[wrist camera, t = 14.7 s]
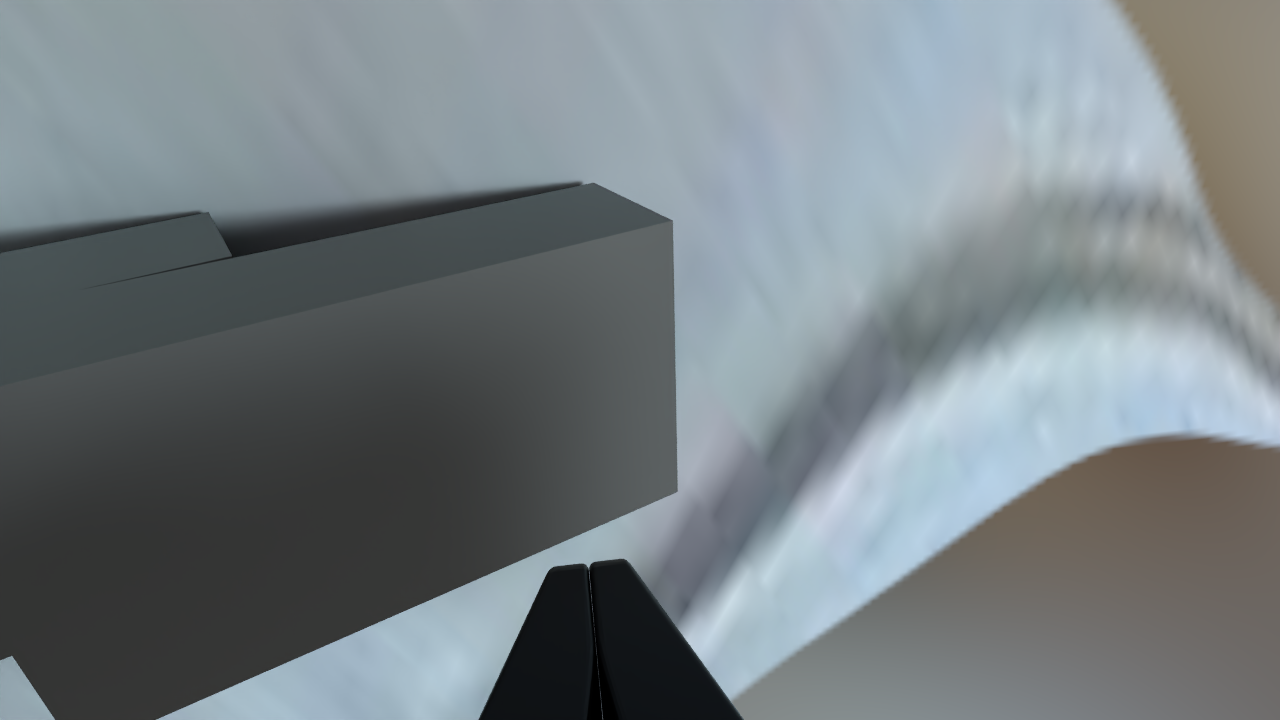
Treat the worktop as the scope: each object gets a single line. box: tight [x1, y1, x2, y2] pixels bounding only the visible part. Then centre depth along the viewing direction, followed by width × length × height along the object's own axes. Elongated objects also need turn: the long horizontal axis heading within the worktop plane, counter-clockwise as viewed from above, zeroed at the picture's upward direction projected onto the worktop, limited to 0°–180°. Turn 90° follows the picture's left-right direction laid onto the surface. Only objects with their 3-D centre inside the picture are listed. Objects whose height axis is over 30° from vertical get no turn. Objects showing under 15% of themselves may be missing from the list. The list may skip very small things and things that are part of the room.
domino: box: [0, 183, 678, 720], centre depth 11 cm, size 2×5×9 cm
